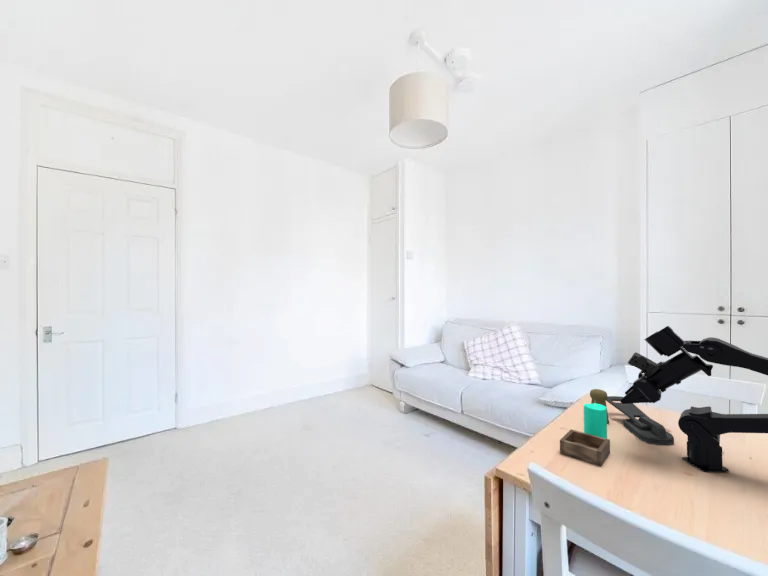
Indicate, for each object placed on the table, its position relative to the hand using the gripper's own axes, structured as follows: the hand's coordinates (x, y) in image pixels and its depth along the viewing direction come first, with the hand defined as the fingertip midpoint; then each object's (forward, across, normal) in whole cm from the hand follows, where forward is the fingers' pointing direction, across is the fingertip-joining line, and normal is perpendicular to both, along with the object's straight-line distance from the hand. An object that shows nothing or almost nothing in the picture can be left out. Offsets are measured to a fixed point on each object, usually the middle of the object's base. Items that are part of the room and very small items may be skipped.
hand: (623, 398), depth 98 cm
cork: (+16, -15, +5) cm, 23 cm away
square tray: (+15, +13, +5) cm, 21 cm away
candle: (+14, +2, +6) cm, 16 cm away
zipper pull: (+9, -17, +11) cm, 22 cm away
